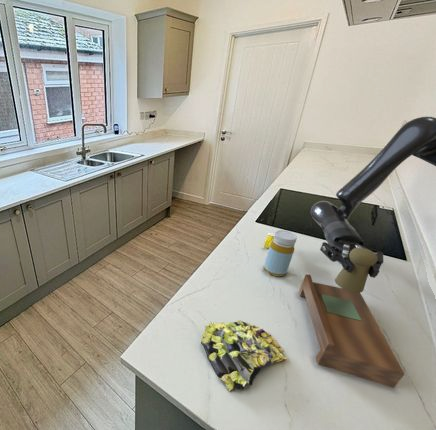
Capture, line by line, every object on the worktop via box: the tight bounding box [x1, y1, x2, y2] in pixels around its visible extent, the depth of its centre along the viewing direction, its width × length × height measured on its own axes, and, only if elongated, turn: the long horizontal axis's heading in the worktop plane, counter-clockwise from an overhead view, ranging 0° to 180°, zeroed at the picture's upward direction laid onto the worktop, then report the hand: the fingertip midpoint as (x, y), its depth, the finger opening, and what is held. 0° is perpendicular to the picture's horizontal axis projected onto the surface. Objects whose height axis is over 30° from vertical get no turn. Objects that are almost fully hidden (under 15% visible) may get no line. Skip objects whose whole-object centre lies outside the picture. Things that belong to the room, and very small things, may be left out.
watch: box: [263, 232, 275, 249], centre depth 105 cm, size 6×3×6 cm, turn 130°
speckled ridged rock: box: [200, 320, 288, 392], centre depth 64 cm, size 20×16×7 cm
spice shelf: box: [298, 273, 406, 388], centre depth 69 cm, size 14×26×7 cm, turn 156°
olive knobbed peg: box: [334, 247, 377, 293], centre depth 68 cm, size 6×6×11 cm
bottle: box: [263, 229, 298, 277], centre depth 90 cm, size 7×7×15 cm
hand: (362, 272), depth 65 cm, fingers closed on olive knobbed peg, 4 cm apart
